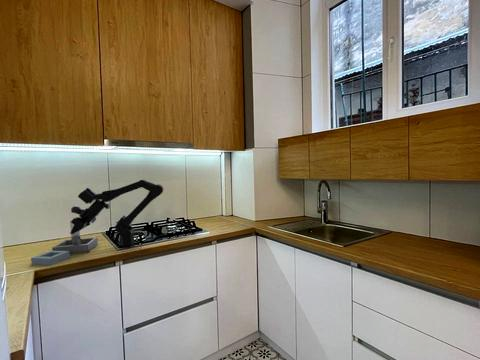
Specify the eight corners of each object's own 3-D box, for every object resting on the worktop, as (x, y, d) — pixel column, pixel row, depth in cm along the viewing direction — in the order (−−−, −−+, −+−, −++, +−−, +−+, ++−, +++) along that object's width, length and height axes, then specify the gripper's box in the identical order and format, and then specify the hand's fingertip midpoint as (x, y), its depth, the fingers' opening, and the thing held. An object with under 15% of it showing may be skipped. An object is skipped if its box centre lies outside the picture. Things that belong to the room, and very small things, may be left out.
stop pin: (82, 244, 137) (80, 219, 136) (73, 246, 134) (71, 221, 133) (79, 243, 139) (77, 219, 139) (70, 245, 136) (68, 220, 135)
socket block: (69, 257, 125) (69, 251, 125) (51, 265, 115) (50, 258, 115) (51, 256, 127) (50, 250, 126) (31, 264, 117) (31, 257, 117)
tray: (98, 244, 145) (97, 237, 145) (88, 252, 131) (88, 244, 131) (65, 247, 142) (65, 239, 142) (52, 255, 128) (52, 247, 128)
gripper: (88, 197, 145) (67, 219, 144) (74, 201, 127) (50, 226, 125) (104, 210, 147) (84, 232, 146) (93, 216, 129) (69, 241, 127)
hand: (72, 232), depth 136 cm, fingers closed on stop pin, 4 cm apart
